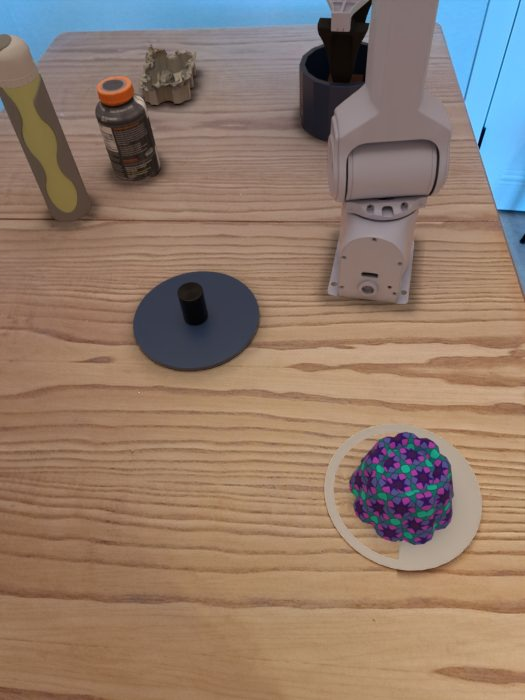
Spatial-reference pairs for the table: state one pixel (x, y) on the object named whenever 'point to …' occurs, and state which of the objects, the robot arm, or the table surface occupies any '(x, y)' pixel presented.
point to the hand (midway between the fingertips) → (345, 65)
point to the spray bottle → (40, 132)
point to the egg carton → (167, 76)
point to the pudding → (410, 496)
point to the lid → (196, 321)
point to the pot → (324, 89)
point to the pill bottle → (126, 130)
